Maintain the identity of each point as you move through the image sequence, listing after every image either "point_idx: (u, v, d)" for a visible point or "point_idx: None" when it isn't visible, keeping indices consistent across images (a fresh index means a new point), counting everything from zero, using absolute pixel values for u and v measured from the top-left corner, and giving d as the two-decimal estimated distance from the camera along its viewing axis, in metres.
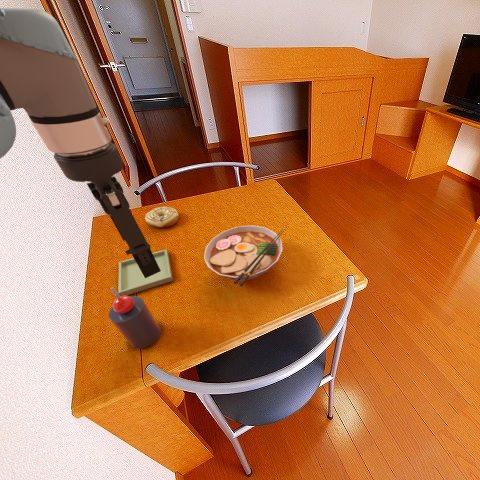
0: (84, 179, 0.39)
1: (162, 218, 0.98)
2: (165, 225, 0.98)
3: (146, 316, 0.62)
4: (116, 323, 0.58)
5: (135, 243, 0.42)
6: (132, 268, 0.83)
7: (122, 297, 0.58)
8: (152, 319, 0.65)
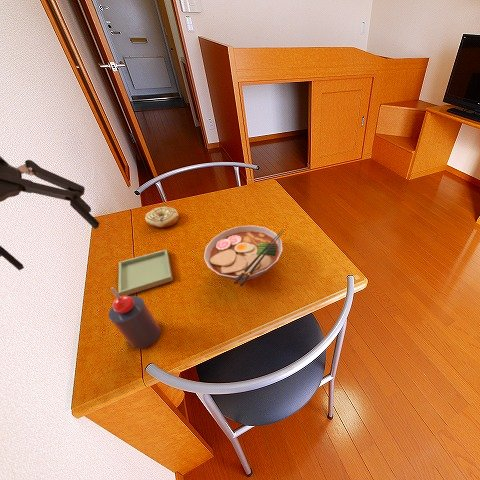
0: (0, 157, 0.50)
1: (162, 218, 0.98)
2: (165, 225, 0.98)
3: (146, 316, 0.62)
4: (116, 323, 0.58)
5: None
6: (132, 268, 0.83)
7: (122, 297, 0.58)
8: (152, 319, 0.65)
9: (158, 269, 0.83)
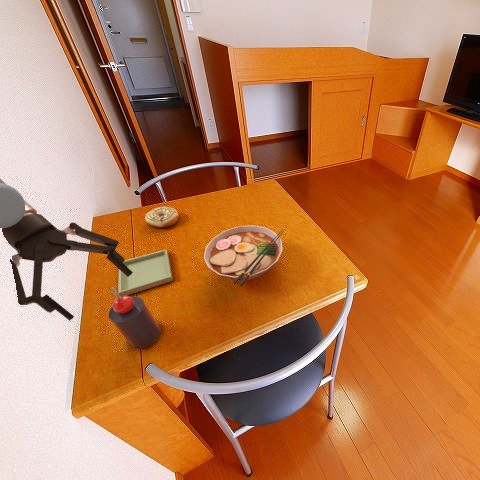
0: (50, 223, 0.58)
1: (162, 218, 0.98)
2: (165, 225, 0.98)
3: (146, 316, 0.62)
4: (116, 323, 0.58)
5: None
6: (132, 268, 0.83)
7: (122, 297, 0.58)
8: (152, 319, 0.65)
9: (158, 269, 0.83)
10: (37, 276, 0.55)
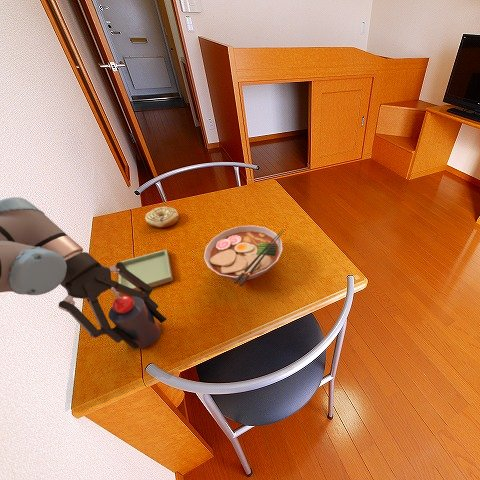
0: (96, 261, 0.60)
1: (162, 218, 0.98)
2: (165, 225, 0.98)
3: (146, 316, 0.62)
4: (116, 323, 0.58)
5: None
6: (132, 268, 0.83)
7: (122, 297, 0.58)
8: (152, 319, 0.65)
9: (158, 269, 0.83)
10: (99, 311, 0.58)
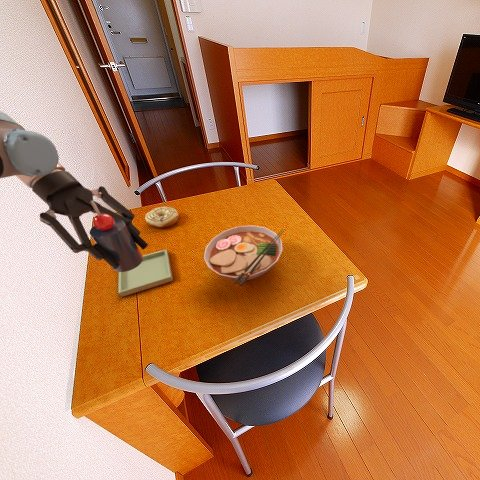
0: (78, 181, 0.62)
1: (162, 218, 0.98)
2: (165, 225, 0.98)
3: (127, 237, 0.64)
4: (96, 239, 0.60)
5: None
6: None
7: (102, 214, 0.60)
8: (133, 243, 0.66)
9: (158, 269, 0.83)
10: (80, 227, 0.60)
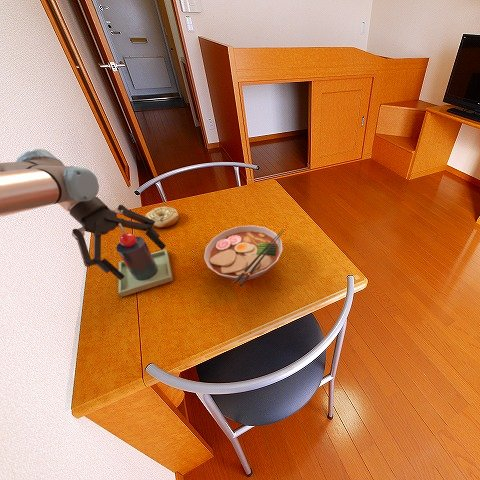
0: None
1: (162, 218, 0.98)
2: (165, 225, 0.98)
3: (146, 251, 0.77)
4: (122, 254, 0.73)
5: None
6: None
7: (127, 233, 0.73)
8: (151, 256, 0.79)
9: (158, 269, 0.83)
10: (97, 244, 0.71)
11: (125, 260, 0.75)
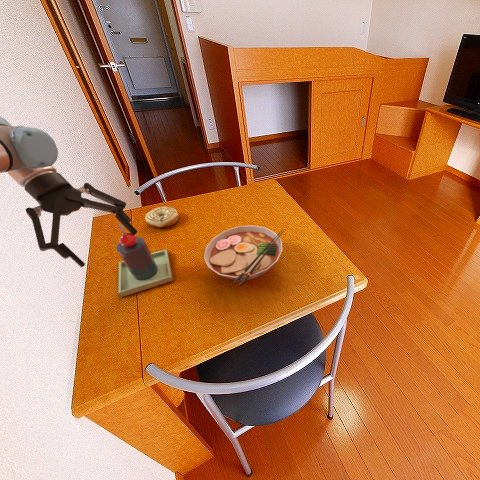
0: (67, 182, 0.67)
1: (162, 218, 0.98)
2: (165, 225, 0.98)
3: (146, 251, 0.77)
4: (122, 254, 0.73)
5: None
6: None
7: (127, 233, 0.73)
8: (151, 256, 0.79)
9: (158, 269, 0.83)
10: (55, 226, 0.64)
11: (125, 260, 0.75)
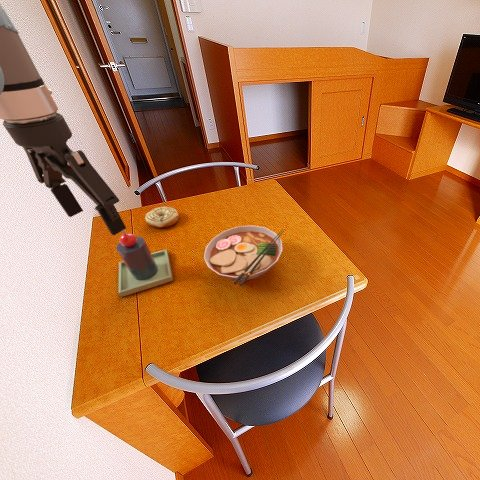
0: (43, 143, 0.44)
1: (162, 218, 0.98)
2: (165, 225, 0.98)
3: (146, 251, 0.77)
4: (122, 254, 0.73)
5: (105, 196, 0.49)
6: None
7: (127, 233, 0.73)
8: (151, 256, 0.79)
9: (158, 269, 0.83)
10: (45, 174, 0.52)
11: (125, 260, 0.75)
